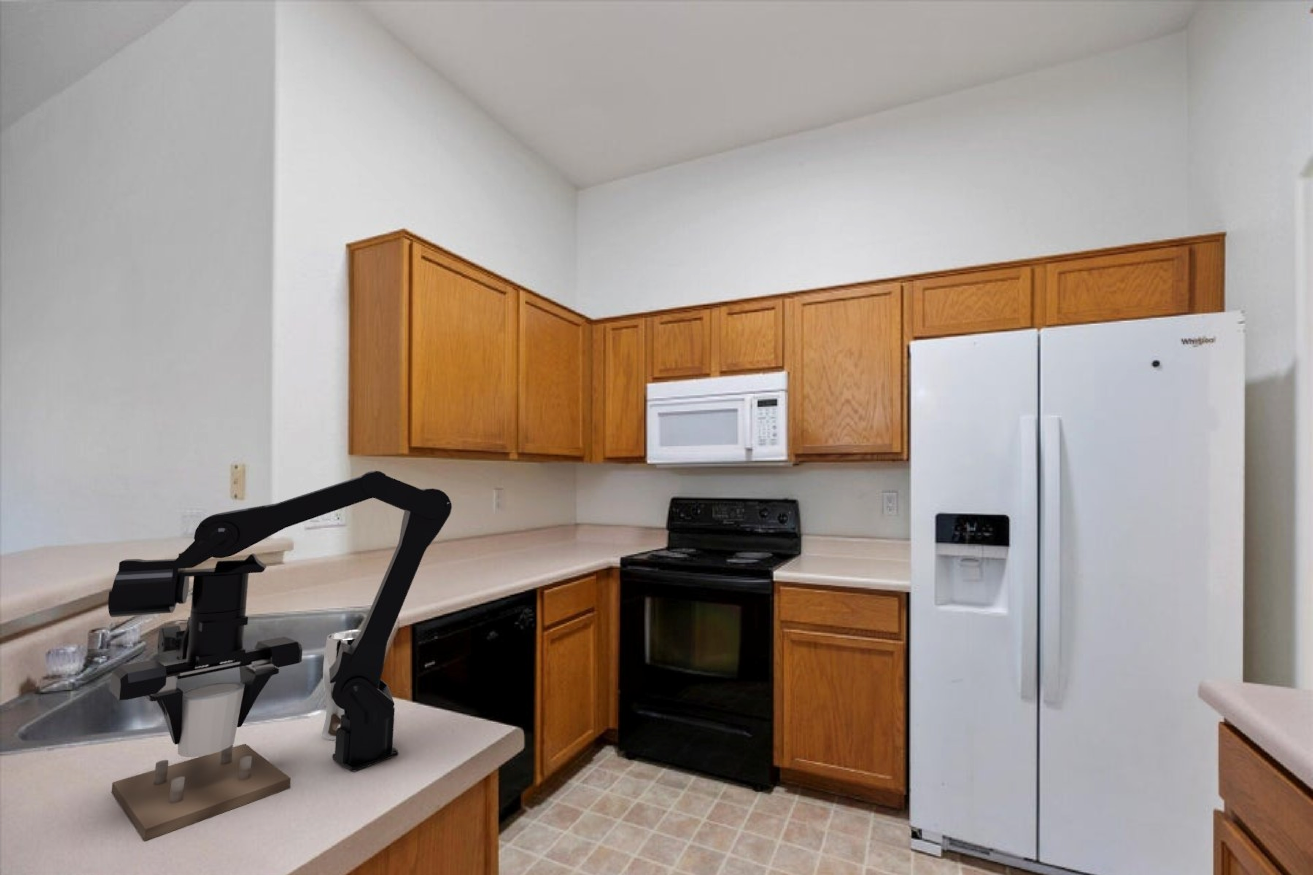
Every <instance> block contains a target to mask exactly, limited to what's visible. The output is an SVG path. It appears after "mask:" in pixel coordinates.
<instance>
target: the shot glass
mask: <svg viewBox="0 0 1313 875" xmlns="http://www.w3.org/2000/svg"><path fill="white" fill-rule="evenodd" d="M244 687H245V685H244V684H242V683H240V682H237V681H236V682H235V681H223V682H222V681H221V682H213V683H207V684H204V685H199V686H195V687H192V688H188V689H185V690H184V691H183V705H182V733H181V738H180V742H179V744H177V754H178V756H180V757H184V758H198V757H201V756H205V755H210V754H213V753H216V752H220V751H222V750H224V749H226V748H229V747H230V746H231V745H233V746H234V744H235V740H236V734H237V729H238V727H237V724H238V719H239V714H240V708H241V703H242V697H243V692H244Z"/></svg>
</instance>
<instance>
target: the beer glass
mask: <svg viewBox="0 0 1313 875" xmlns="http://www.w3.org/2000/svg"><path fill="white" fill-rule="evenodd" d="M361 630H362V629H348V630H347V629H346V630H340V631H335V632H333V633H330V634H328V635H327V636H326V641H325V649H324V655H323V656H324V657H323V664H322V665H323V666H322V667H323V668H322V676H323V678H322V679H323V689H324V694H325V696H324V697H325V708H326V714H325V719H324V724H323V728H322V730H321V738H323V739H324V740H326V741H336V730H337V728H339V727H340V722H341V715H343V714H346V713H347V710H344V709H341V708H340V707H338V706H337V705H336V704H335V702H334V700H333V698H332V684H331V683H330V675H329V668H330V667H331V666H332V665H333V664H334V662H335V661H336V659H337V656H338V653H339V648H340V645H341V643H342V642H343V643H346V644H348V645H351V644H352V643H353V642H354V640H355V639H356V638H357V636H358V635H359V633H360V632H361Z"/></svg>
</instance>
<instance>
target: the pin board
mask: <svg viewBox="0 0 1313 875" xmlns="http://www.w3.org/2000/svg"><path fill="white" fill-rule="evenodd" d="M154 768H155V769H154V770H150V771H146V772H144V773H140V774H136V775H132V776H129V777H126V778H122V779H118V780H116V781H113V782H112V785H111V786H112V787H111V794H112V795H113V797H114V799H115V800H116V801H117V803H118V805H120V808H122V810H123V812H124V814H125V815H126V816H127V818H128V820H130V822H131V823H132V825H133V826H134V828H135V830H136V831H137V832H138V834H139V835H140V836H141V839H142V840H143V841H144V842H146V841H148V840H151V839H154V838H158V837H160V836H162V835H165V834H167V833H170V832H173V831H176V830H178V829H181V828H184V827H186V826H190V825H193V824H195V823H197V822H201V821H203V820H206V819H209V818H211V817H214V816H217V815H220V814H223V813H225V812H228V811H230V810H234V809H236V808H239V807H241V806H244V805H248V804H250V803H252V802H256V801H258V800H261V799H264V798H266V797H269V796H273V795H274V794H278V793H280V792H282V791H285V790H289V789H291V782H292V780H291V777H290V776H288V774H286V773H285V772H283V771H282V770H281V769H279V768H278V767H277V766H276V765H274V764H273V763H271V762H270V761H269V760H267V758H265V757H264V756H262V755H261V754H259V753H258V752H257V751H256V750H254V749H253V748H252V747H250V746H249V745H248V744H246V743H244V744H243V743H242V744H239V745H236V746H234V744H233V745H231V746H230V747H229V748H226V749H224V750H222V751H220V752H216V753H213V754H210V755H204V756H199V757H193V758H192V759H188V760H185V761H181V762H177V763H174V764H170V765H169V760H168V759H164V760H158V761H157V762H155V767H154Z"/></svg>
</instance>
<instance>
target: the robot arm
mask: <svg viewBox="0 0 1313 875" xmlns="http://www.w3.org/2000/svg"><path fill="white" fill-rule="evenodd" d="M370 499H375V500H378V501H380V502H383V503H385V504H387V505H390V506H392V507H394V508H396V509H400V510H402V511H404V512H403V516H402V521H401V525H400V526H401V527H400V532H399V539H398V542H397V546H396V548H395V550H394V552H393V555H392V557H391V559H390V562H389V564H388V566H387V568H386V569H387V570H386V572H385V574H384V575H383V578H382V580H381V583H380V585H379V587H378V590H377V592H376V595H375V597H374V599H373V602H372V604H371V606H370V609H369V611H368V614H367V615H366V618H365V621H364V623H363V626H362V628H361V629H360V630H361V632H360V633H359V635H358V636H357V638H356V639H355V640H354V642H353V643H352V644H351V645H348V644H346V643H343V642H342V643H341V645H340V648H339V653H338V656H337V659H336V661H335V662H334V664H333V665H332V666H331V667H330V668H329V675H330V683H331V684H332V698H333V700H334V702H335V704H336V705H337V706H338V707H340V708H341V709H344V710H347V713H346V714H343V715H341V722H340V727H339V728H337V730H336V740H335V746H334V748H335V749H334V753H333V754H332V760H334V761H336V763H337V762H338V763H339V764H341V765H342V766H344V767H346V768H347V769H349V771H351V772H352V771H353V772H354V771H358V770H361V769H364V768H366V767H368V766H371V765H373V764H376V763H379V762H382V761H384V760H388V759H390V758H392V757H395V756H398V755H399V750H398V749H396V748H395V747H394V746H393V742H394V729H395V728H394V727H395V726H394V725H395V710H396V708H395V701H394V699H393V695H392V694H391V689H390V688H389V685H388V683H386V682H385V681H384V680H382V675H383V670H384V665H385V658H386V654H387V653H386V652H387V646H388V642H389V641H390V640H389V639H390V637H391V634H392V632H393V631H394V630H393V629H394V627H395V624H396V623H397V620H398V618H399V614H400V613H401V611H402V607H403V605H404V603H405V600H406V598H407V596H408V593H409V591H410V588H411V586H412V584H413V581H414V578H415V577H416V574H417V571H418V569H419V567H420V565H421V561H422V559H423V557H424V554H425V553H426V550H427V549H428V547H430V545H431V544H432V542H433V541H434V540H435V539H436V537H437V536H438V534H439V533H440V532H441V530H442V528H443V527H444V525H445V524H446V522H447V520H448V518H449V517H450V515H451V512H452V508H453V506H452V505H453V504H452V501H451V499H450V497H449V496H448V495H447V493H446V492H444V491H442V490H441V489H438V488H419V487H416V486H413V485H412V484H408V483H406V482H404V481H401V480H399V479H397V478H396V479H395V478H393V477H391V476H388V475H386V473H384V472H382V471H379V470H371V471H367V472H365V473H364V474H362V475H360V476H357V477H354V478H350V479H348V480H345V481H341V482H338V483H336V484H332V485H330V486H326V487H323V488H320V489H318V490H314V491H309V492H307V493H304V494H301V495H299V496H296V497H293V498H289V499H287V500H284V501H280V502H276V503H271V504H266V505H265V504H264V505H259V506H254V507H253V506H251V507H248V508H241V509H235V510H230V511H224V512H220V513H214V514H211V515H210V516H207V517H206V518H204V519H203V520H202V521H200V522H199V524H198V525H197V527H196V529H195V531H194V537H193V542H191V544H190V545H189V546H188V547H187V548H185V549H184V551H182V552H180V553H178V557H177V558H165V559H140V558H130V559H129V558H128V559H127V558H125V559H124V560H121V561H120V562H119V564H118V570H117V573H116V574H115V576H114V580H113V584H112V588H111V589H110V590H109V592H108V598H107V599H108V600H107V601H108V602H107V608H108V609H107V610H108V615H109V616H110V617H111V618H122V617H131V616H132V617H133V616H134V617H135V616H145V615H146V616H147V615H158V614H159V615H160V614H173V612H175V610H176V607H177V604H179V605H182V604H183V605H184V604H185V603H186V602H187V599H188V596H189V589H190V577H193V582H192V592H191V603H190V604H191V605H190V613H189V614H190V616H189V617H188V618H187V622H186V627H185V630H181V626H180V625H174V626H168V627H166V626H165V627H161V628H160V629H158V637H157V654H158V655H161V656H162V655H167V654H173V653H175V657H174V659H175V661H182V660H183V661H184V660H185V661H184V662H179V663H178V662H177V663H173V664H167V665H164V664H163V663H161V662H160V661H158V660H157V659H152V660H145V661H139V662H134V663H128V664H122V665H118V666H117V667H116V668H115V669H114V670H113V671H112V672H111V675H110V679H109V680H110V682H109V688H108V689H109V692H110V693H111V694H112V695H113V696H114V697H116V699H117V700H118V701H127V700H128V701H129V700H133V699H137V698H142V697H145V699H147V700H148V701H149V702H156V703H157V704H158V706H159V708H160V709H161V712H162V715H163V717H164V721H165V723H166V727H167V729H168V732H169V735H170V737H171V738H170V739H171V740H172V743H173V744H174V745H178V744H179V742H180V738H181V733H182V705H183V692H184V691H183V690H182V689H180V688H179V687H178V680H181V679H186V678H191V677H197V676H202V675H206V674H211V673H215V672H221V671H222V672H223V671H225V670H232V669H235V668H239V676H240V681H239V683H242V684H244V685H245V687H244V692H243V697H242V703H241V708H240V714H239V719H238V724H237V728H241V727H242V726H243V724H244V722H245V720H246V719H247V717H248V715H249V714H250V712H251V709H252V708H253V706H254V704H255V702H256V700H257V698H258V697H259V695H260V693H261V692H262V690H263V689H264V687H265V686H266V685H267V683H268V682H269V681H270V679H271V677H272V676H275V675H279V673H280V669H279V668H284V667H287V666H291V665H296V664H297V665H298V664H300V663H301V662H302V661H303V647H302V646H303V645H302V644H301V643H300V642H299V641H297V640H294V639H291V638H289V637H287V636H282V637H276V638H275V637H274V638H270V639H265V640H259V641H257V643H256V644H255V646H254V649H253V648H252V649H249V650H246V648H244V640H245V639H244V637H245V626H247V625H248V622H249V616H247V615H246V612H247V600H248V598H247V597H248V587H249V574H256V573H257V574H258V573H260V574H261V573H263V572H264V571H265V570H266V569H267V564H265V563H264V562H263V561H261V560H260V559H259V558H258V557H257V556H256V554H255V553H250V555H248V556H247V557H246V558H245V559H233V560H232V559H231V560H217V562H216V563H215V567H210V568H195V567H197V566H199V565H200V564H202V563H204V562H207V560H209V559H212V558H214V559H223V558H228V557H232V556H234V555H236V554H238V553H241V552H242V551H245V550H246V549H248V548H249V547H252V546H253V545H256V544H257V543H259V542H262V541H263V540H265V539H267V538H269V537H272V536H273V535H275V534H276V533H278V532H280V531H282V530H284V529H286V528H289V527H292V526H295V525H298V524H300V523H305V522H306V521H308V520H312V519H314V518H318V517H322V516H323V515H326V514H330V513H332V512H335V511H338V510H342V509H344V508H347V507H350V506H352V505H355V504H359V503H361V502H364V501H367V500H370ZM193 568H195V569H193Z"/></svg>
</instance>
